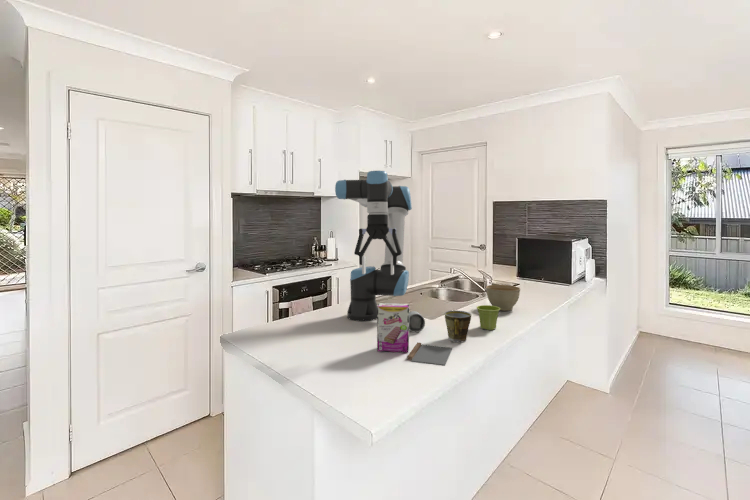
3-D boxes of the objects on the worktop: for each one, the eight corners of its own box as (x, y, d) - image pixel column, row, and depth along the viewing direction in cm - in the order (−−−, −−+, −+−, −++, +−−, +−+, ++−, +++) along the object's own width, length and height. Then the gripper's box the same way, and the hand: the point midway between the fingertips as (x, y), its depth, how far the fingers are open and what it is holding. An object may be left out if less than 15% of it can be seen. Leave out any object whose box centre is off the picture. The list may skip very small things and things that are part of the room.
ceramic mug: (421, 326, 162) (421, 308, 161) (425, 332, 153) (425, 313, 153) (396, 327, 161) (396, 309, 160) (399, 333, 153) (398, 314, 152)
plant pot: (473, 325, 162) (473, 305, 162) (494, 324, 163) (494, 304, 162) (481, 331, 153) (481, 310, 152) (503, 331, 154) (504, 310, 153)
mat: (411, 361, 123) (411, 360, 123) (422, 345, 138) (422, 344, 138) (444, 365, 120) (444, 364, 120) (452, 348, 135) (452, 347, 135)
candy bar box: (377, 352, 132) (376, 306, 130) (378, 347, 137) (377, 302, 135) (409, 353, 131) (409, 306, 129) (409, 348, 136) (409, 303, 134)
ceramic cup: (445, 334, 151) (446, 309, 150) (471, 336, 148) (472, 311, 147) (441, 345, 138) (442, 318, 137) (470, 347, 135) (470, 320, 134)
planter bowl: (524, 312, 181) (525, 290, 180) (491, 313, 181) (491, 290, 180) (513, 304, 197) (513, 284, 196) (481, 305, 197) (482, 284, 196)
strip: (407, 359, 125) (407, 356, 125) (417, 345, 138) (417, 342, 138) (411, 360, 124) (411, 356, 124) (421, 346, 137) (421, 342, 137)
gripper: (344, 214, 137) (345, 274, 139) (407, 213, 132) (407, 276, 135) (350, 214, 144) (351, 271, 147) (409, 213, 140) (409, 273, 142)
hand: (378, 273), depth 141 cm, fingers open, 10 cm apart
